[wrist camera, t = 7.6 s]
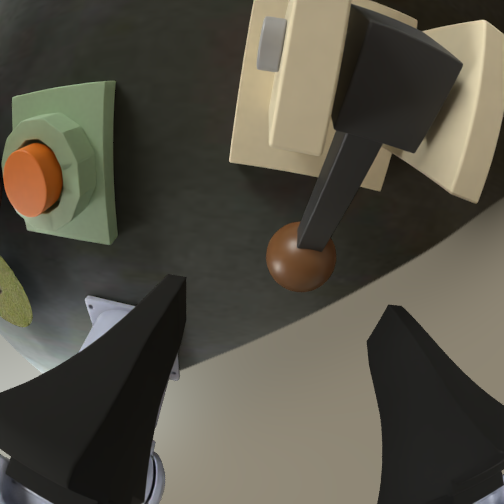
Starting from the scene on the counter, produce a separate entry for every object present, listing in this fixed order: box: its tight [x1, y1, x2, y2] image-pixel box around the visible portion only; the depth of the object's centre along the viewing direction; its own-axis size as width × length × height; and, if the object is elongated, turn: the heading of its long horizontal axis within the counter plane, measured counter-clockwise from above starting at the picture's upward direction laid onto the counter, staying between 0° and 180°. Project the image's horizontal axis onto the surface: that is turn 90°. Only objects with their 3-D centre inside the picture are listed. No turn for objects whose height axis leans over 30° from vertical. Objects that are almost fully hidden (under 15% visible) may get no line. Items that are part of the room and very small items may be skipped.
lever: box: [266, 4, 463, 292], centre depth 9 cm, size 12×3×3 cm, turn 170°
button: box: [3, 143, 63, 217], centre depth 12 cm, size 4×4×2 cm
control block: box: [1, 81, 118, 245], centre depth 13 cm, size 10×8×3 cm
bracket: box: [229, 0, 504, 203], centre depth 8 cm, size 10×8×10 cm
